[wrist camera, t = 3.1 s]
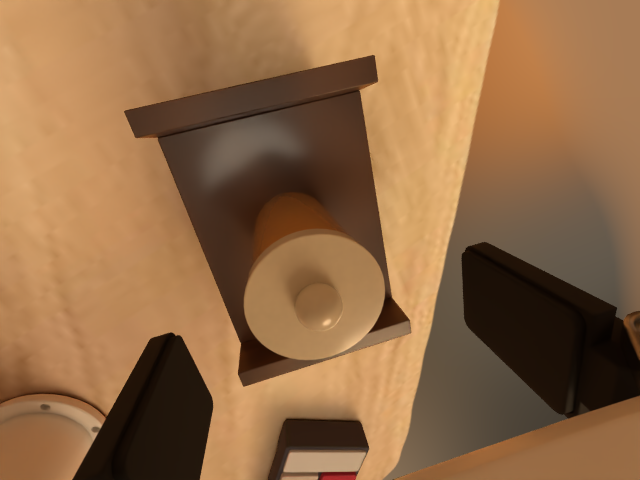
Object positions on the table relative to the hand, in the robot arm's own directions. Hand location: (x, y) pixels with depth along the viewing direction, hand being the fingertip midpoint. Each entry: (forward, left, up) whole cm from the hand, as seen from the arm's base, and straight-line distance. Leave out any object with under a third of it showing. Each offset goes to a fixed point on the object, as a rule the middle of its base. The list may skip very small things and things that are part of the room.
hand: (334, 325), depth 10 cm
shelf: (0, 0, -21) cm, 21 cm away
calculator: (-6, -37, -21) cm, 43 cm away
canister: (0, 0, -11) cm, 11 cm away
